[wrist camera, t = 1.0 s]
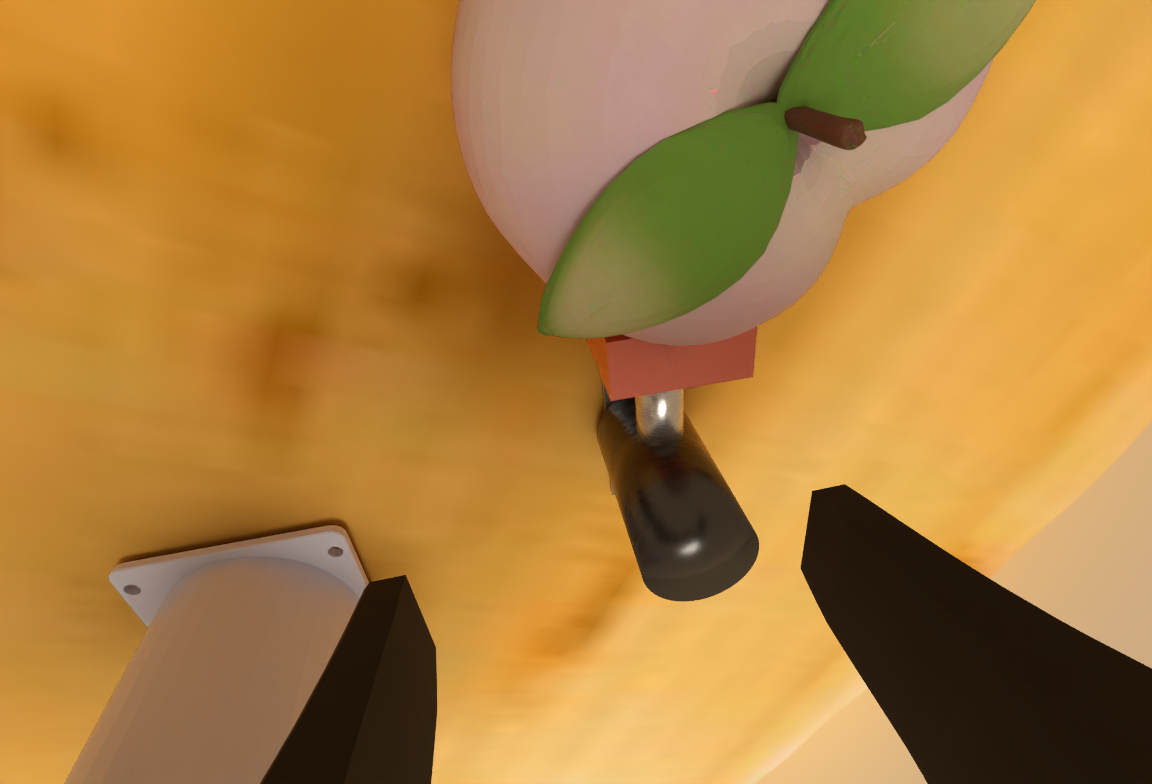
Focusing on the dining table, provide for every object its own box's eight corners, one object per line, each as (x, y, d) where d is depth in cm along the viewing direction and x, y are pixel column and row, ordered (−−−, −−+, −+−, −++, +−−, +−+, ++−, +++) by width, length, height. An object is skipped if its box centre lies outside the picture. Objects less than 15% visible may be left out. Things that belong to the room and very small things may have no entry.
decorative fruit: (618, -293, 11) (1075, -1281, 3) (855, 15, 15) (1371, -14, 6) (383, 128, 14) (267, 257, 6) (625, 298, 18) (767, 530, 9)
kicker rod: (690, 455, 21) (760, 586, 16) (595, 473, 21) (636, 612, 16) (694, 257, 17) (790, 349, 12) (575, 275, 17) (622, 378, 12)
